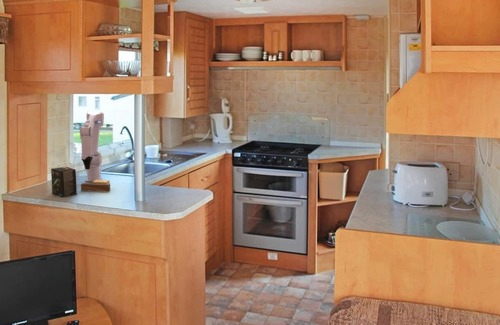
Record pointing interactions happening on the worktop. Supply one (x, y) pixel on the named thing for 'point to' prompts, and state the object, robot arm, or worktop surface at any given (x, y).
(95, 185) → the brown wooden bar
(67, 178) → the tampon box
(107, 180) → the block
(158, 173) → the worktop surface
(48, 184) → the worktop surface
